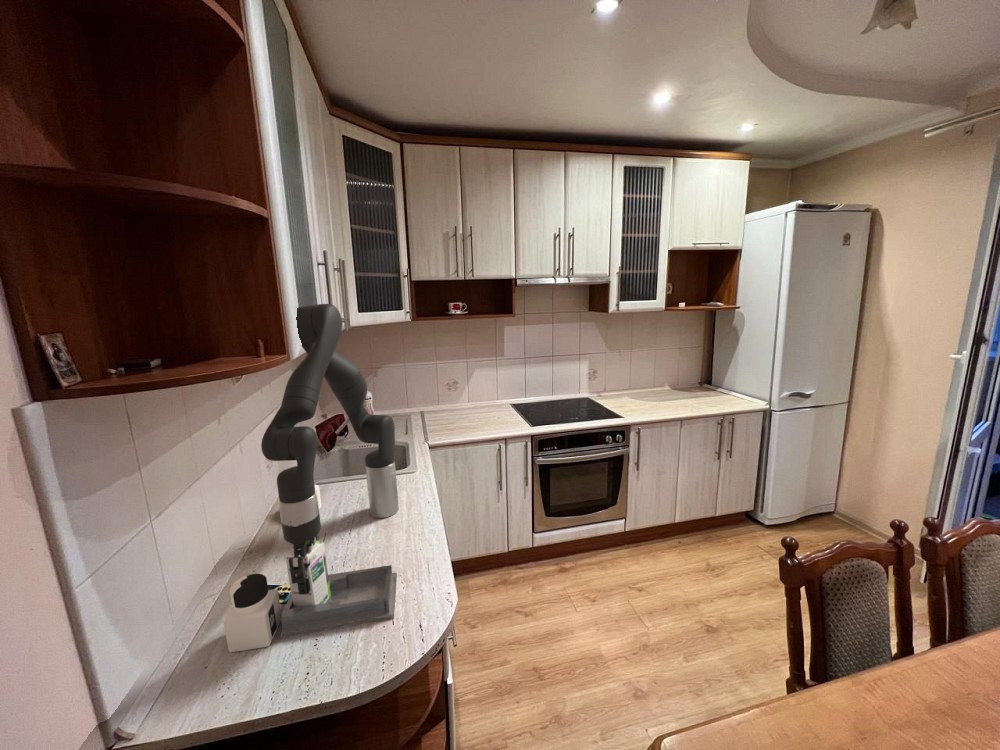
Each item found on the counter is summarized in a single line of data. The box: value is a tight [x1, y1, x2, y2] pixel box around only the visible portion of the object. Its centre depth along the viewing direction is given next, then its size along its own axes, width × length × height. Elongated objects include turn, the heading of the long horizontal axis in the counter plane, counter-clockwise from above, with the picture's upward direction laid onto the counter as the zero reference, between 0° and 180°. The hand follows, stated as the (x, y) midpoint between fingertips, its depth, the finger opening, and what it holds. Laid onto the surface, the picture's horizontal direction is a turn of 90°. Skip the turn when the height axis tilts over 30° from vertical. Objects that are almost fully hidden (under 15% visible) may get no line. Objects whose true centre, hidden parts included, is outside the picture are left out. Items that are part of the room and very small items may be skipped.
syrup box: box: [284, 540, 331, 608], centre depth 91 cm, size 6×6×14 cm
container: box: [223, 573, 283, 653], centre depth 84 cm, size 8×8×13 cm
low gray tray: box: [280, 565, 398, 639], centre depth 93 cm, size 14×23×4 cm, turn 102°
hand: (309, 581), depth 91 cm, fingers closed on syrup box, 7 cm apart
